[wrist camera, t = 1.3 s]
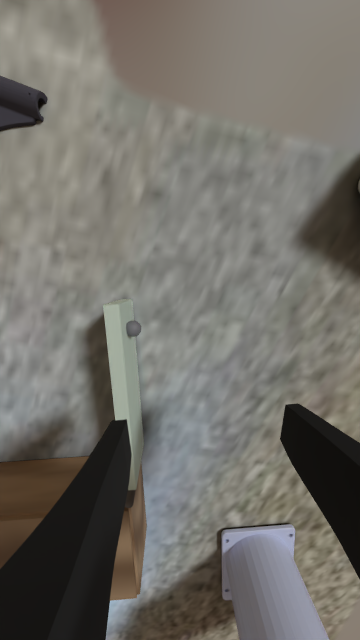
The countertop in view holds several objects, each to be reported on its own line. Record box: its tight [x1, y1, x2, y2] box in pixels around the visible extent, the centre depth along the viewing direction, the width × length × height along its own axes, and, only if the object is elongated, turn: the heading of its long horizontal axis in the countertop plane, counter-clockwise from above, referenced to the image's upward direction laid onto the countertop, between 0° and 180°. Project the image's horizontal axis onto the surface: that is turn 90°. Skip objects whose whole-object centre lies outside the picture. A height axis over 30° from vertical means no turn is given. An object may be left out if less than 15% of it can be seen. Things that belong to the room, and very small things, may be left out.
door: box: [103, 299, 144, 490], centre depth 17 cm, size 14×2×5 cm, turn 2°
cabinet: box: [0, 456, 147, 600], centre depth 19 cm, size 10×15×6 cm, turn 92°
